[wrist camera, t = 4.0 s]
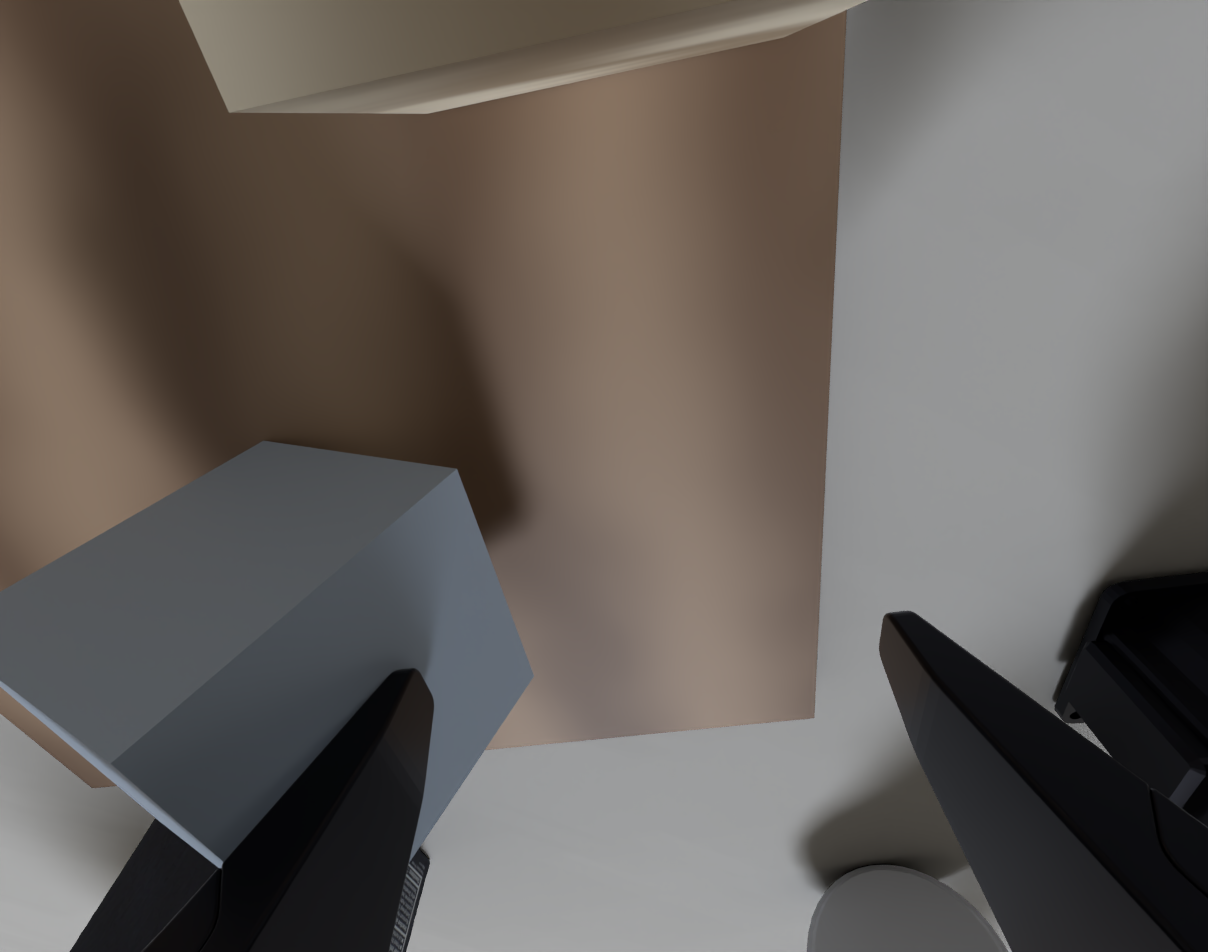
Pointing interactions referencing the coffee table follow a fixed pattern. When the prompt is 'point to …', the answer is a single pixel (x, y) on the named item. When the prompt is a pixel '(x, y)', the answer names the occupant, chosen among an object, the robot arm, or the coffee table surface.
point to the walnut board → (447, 336)
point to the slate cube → (265, 633)
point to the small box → (189, 895)
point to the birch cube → (460, 46)
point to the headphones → (897, 915)
